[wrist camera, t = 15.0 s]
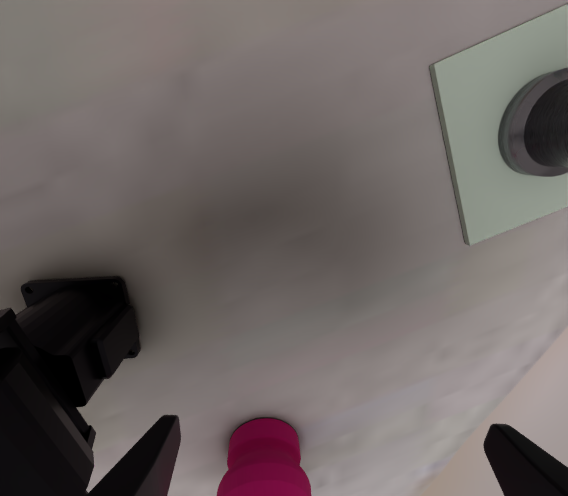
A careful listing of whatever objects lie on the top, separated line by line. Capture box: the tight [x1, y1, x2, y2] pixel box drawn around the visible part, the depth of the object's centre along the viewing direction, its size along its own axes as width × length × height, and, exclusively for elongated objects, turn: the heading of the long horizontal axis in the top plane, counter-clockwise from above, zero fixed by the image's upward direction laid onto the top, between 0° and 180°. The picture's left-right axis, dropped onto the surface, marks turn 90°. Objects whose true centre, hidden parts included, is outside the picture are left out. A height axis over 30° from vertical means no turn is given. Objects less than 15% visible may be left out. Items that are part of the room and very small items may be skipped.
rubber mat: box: [429, 4, 568, 246], centre depth 18 cm, size 12×12×1 cm
